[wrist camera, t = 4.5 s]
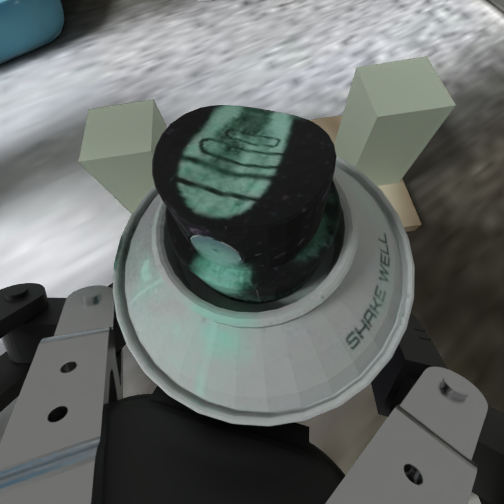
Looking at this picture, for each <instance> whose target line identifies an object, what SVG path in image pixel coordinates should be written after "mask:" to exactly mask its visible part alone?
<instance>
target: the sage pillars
mask: <svg viewBox="0 0 504 504" xmlns="http://www.w3.org/2000/svg"><path fill="white" fill-rule="evenodd" d="M455 106H456V105H455V103H454V101H453V100H452V98H451V96H450V95H449V93H448V91H447V90H446V88H445V86H444V85H443V83H442V81H441V80H440V78H439V76H438V75H437V73H436V71H435V70H434V68H433V66H432V64H431V63H430V61H429V59H428V58H427V56H426V57H420V58H414V59H407V60H401V61H394V62H388V63H382V64H375V65H369V66H363V67H357V68H356V71H355V75H354V78H353V82H352V85H351V88H350V92H349V95H348V99H347V102H346V106H345V109H344V113H343V116H342V119H341V123H340V126H339V130H338V133H337V137H336V140H335V144H334V146H335V151H336V156H338V157H340V158H343V159H344V160H346V161H347V162H348V163H350V164H351V165H353V166H354V167H356V168H357V169H359V170H360V171H362V172H363V173H364V174H365V175H366V176H367V177H368V178H369V179H370V180H371V181H372V182H373V183H374V184H375V185H377V186H381V185H389V184H396V183H399V182H400V180H401V179H402V178H403V176H404V175H405V174H406V172H407V171H408V170H409V168H410V167H411V166H412V164H413V163H414V161H415V160H416V159H417V157H418V156H419V155H420V153H421V152H422V151H423V149H424V148H425V146H426V145H427V144H428V142H429V141H430V140H431V138H432V137H433V136H434V134H435V133H436V132H437V130H438V129H439V127H440V126H441V125H442V123H443V122H444V121H445V119H446V118H447V117H448V115H449V114H450V113H451V111H452V110H453V108H454V107H455ZM166 129H167V126H166V124H165V122H164V120H163V118H162V116H161V114H160V112H159V110H158V107H157V105H156V103H155V101H154V99H152V100H146V101H139V102H133V103H126V104H120V105H114V106H107V107H101V108H95V109H88V114H87V119H86V124H85V130H84V135H83V140H82V145H81V151H80V156H79V161H78V162H79V163H80V164H81V165H82V166H83V167H84V168H85V169H86V170H87V171H88V172H89V173H90V174H91V175H92V176H93V177H94V178H95V179H96V180H97V181H98V182H100V183H101V184H102V185H103V186H104V187H105V188H106V189H107V190H108V191H109V192H110V193H111V194H112V195H113V196H114V197H115V198H116V199H117V200H118V201H119V202H120V203H121V204H122V205H123V206H124V207H125V208H126V209H127V210H128V211H129V212H130V213H131V214H132V213H133V212H134V210H135V209H136V207H137V206H138V205H139V203H140V202H141V200H142V199H143V197H144V196H145V195H146V193H147V192H148V191H149V190H150V189H151V188H152V187H153V186H154V185H155V184H154V180H153V176H152V159H153V155H154V151H155V147H156V145H157V143H158V141H159V139H160V137H161V135H162V133H163V132H164V131H165V130H166Z"/></svg>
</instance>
